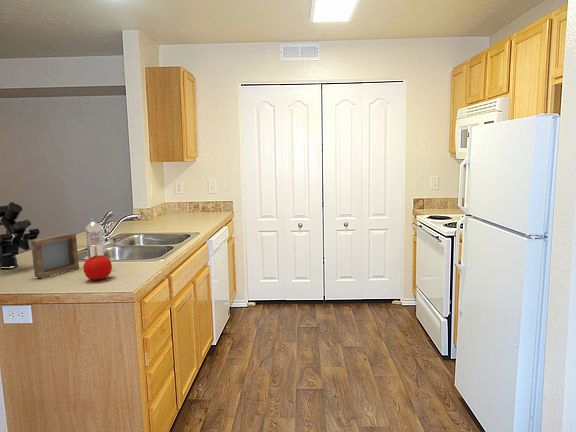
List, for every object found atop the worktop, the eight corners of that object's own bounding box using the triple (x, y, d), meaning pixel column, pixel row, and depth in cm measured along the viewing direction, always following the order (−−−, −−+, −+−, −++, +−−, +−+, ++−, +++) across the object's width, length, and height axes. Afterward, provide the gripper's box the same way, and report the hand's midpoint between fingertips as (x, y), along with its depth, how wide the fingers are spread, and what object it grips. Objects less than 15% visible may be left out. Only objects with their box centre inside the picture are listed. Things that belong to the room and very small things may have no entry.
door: (34, 275, 207) (30, 241, 205) (66, 267, 222) (63, 235, 220) (37, 276, 206) (33, 242, 204) (70, 267, 221) (67, 235, 218)
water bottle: (107, 268, 218) (102, 217, 214) (101, 272, 211) (97, 219, 208) (93, 269, 218) (88, 218, 214) (87, 273, 211) (82, 220, 207)
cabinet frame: (35, 278, 204) (30, 240, 202) (73, 267, 222) (70, 233, 219) (40, 279, 203) (36, 241, 200) (79, 268, 220) (75, 233, 218)
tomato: (104, 274, 207) (102, 250, 206) (117, 278, 200) (115, 253, 199) (79, 280, 198) (76, 255, 197) (92, 284, 191) (89, 259, 190)
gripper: (-3, 217, 208) (14, 242, 205) (35, 212, 225) (52, 235, 221) (-11, 233, 213) (6, 258, 210) (27, 226, 230) (43, 249, 226)
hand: (27, 249), depth 217 cm, fingers closed
